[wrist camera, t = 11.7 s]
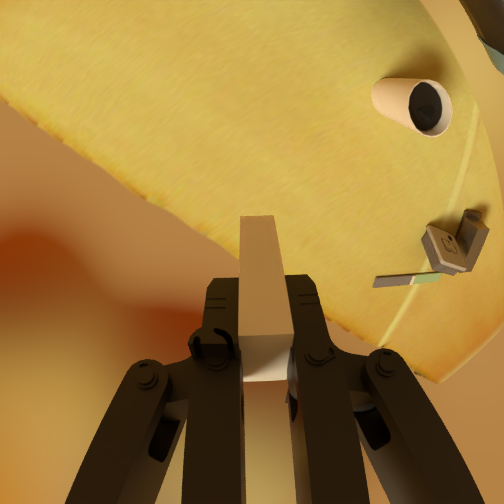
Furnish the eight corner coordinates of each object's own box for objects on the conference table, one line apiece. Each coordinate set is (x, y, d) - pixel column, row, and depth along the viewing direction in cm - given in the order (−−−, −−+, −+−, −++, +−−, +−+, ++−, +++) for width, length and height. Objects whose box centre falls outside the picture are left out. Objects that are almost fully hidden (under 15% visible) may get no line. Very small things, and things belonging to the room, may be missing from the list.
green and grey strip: (375, 277, 48) (377, 279, 47) (441, 271, 48) (442, 273, 47) (372, 286, 49) (373, 288, 48) (437, 280, 49) (438, 282, 49)
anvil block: (464, 210, 39) (479, 224, 35) (479, 211, 39) (493, 224, 35) (445, 261, 46) (457, 276, 42) (460, 260, 46) (472, 274, 42)
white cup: (416, 98, 29) (460, 111, 20) (391, 129, 32) (431, 149, 24) (385, 65, 26) (428, 67, 18) (359, 97, 29) (396, 107, 21)
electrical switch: (452, 233, 42) (473, 262, 36) (440, 251, 45) (458, 280, 39) (426, 222, 41) (448, 253, 35) (413, 242, 44) (432, 274, 38)
